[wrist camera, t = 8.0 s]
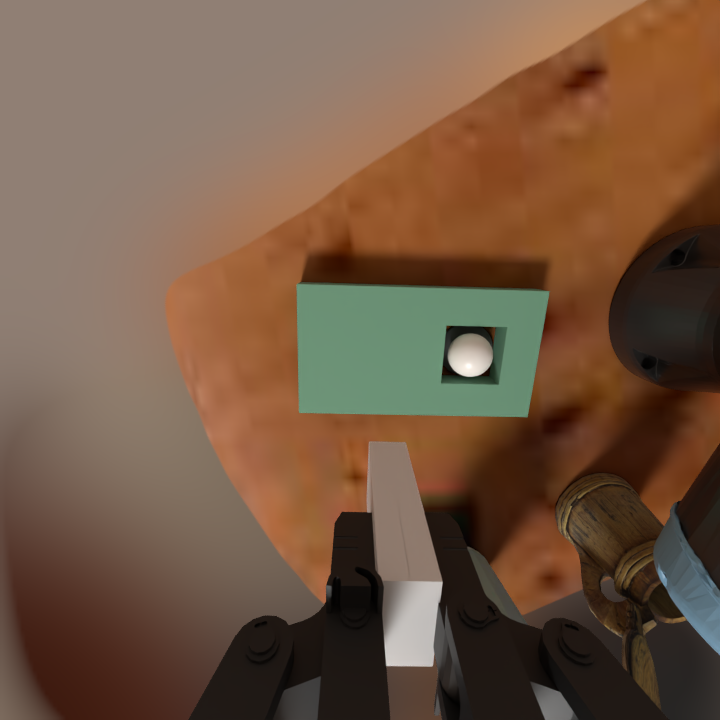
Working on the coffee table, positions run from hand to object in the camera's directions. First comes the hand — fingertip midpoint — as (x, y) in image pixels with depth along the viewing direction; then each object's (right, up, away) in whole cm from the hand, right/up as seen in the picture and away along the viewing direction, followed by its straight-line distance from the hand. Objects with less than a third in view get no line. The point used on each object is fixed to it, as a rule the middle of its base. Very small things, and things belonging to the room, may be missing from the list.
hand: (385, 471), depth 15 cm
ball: (+9, +5, +18) cm, 21 cm away
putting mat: (+4, +6, +20) cm, 21 cm away
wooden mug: (+24, -13, +26) cm, 38 cm away
